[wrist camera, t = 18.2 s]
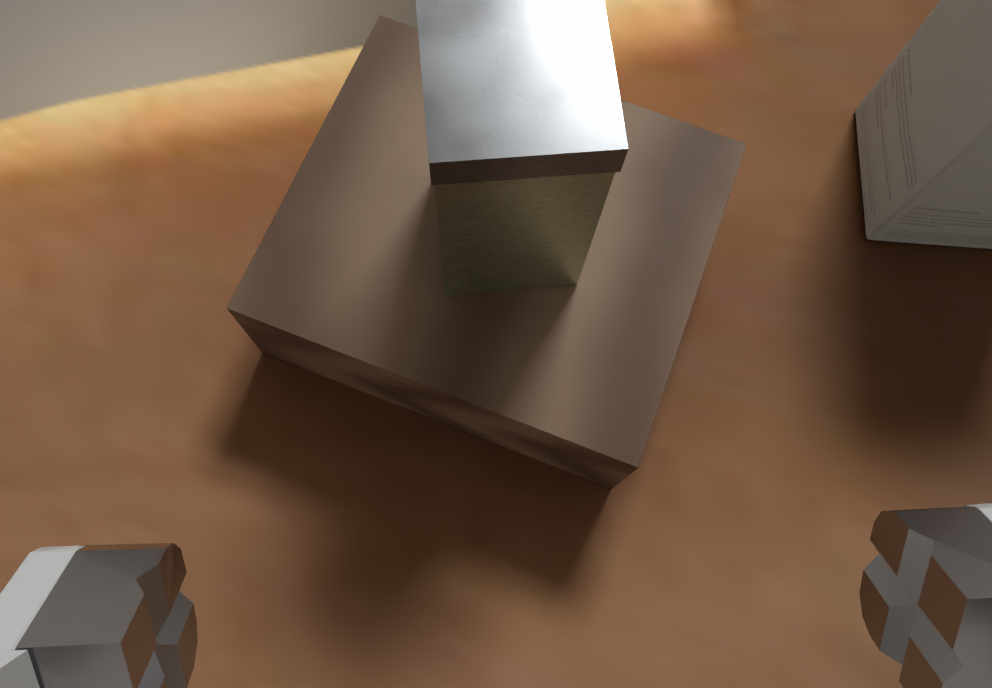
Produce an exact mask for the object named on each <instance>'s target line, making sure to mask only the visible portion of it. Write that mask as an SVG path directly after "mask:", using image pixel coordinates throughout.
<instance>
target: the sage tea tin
mask: <svg viewBox="0 0 992 688" xmlns="http://www.w3.org/2000/svg"><path fill="white" fill-rule="evenodd" d="M415 1H416V12H417V25H418V37H419V49H420V61H421V73H422V85H423V98H424V110H425V122H426V134H427V146H428V158H429V169H430V180H431V186H432V185H435V195H436V206H437V218H438V230H439V242H440V253H441V265H442V277H443V289H444V296H454V295H466V294H479V293H491V292H504V291H516V290H528V289H541V288H553V287H566V286H577V284H578V281H579V278H580V275H581V272H582V269H583V266H584V263H585V260H586V257H587V254H588V251H589V248H590V245H591V242H592V239H593V237H594V234H595V231H596V228H597V225H598V222H599V219H600V216H601V213H602V210H603V207H604V204H605V201H606V198H607V195H608V192H609V189H610V186H611V183H612V181H613V178H614V175H615V172H621V169H622V166H623V164H624V161H625V158H626V155H627V152H628V149H629V148H628V142H627V136H626V130H625V124H624V117H623V111H622V105H621V99H620V93H619V87H618V81H617V75H616V68H615V62H614V56H613V50H612V44H611V38H610V32H609V26H608V19H607V13H606V7H605V1H604V0H415Z"/></svg>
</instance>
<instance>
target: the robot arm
mask: <svg viewBox="0 0 992 688" xmlns="http://www.w3.org/2000/svg"><path fill="white" fill-rule="evenodd" d="M870 540H871V542H872V543H873V545H874V546H875V548H876V549H877V551H878V552H879V555H878V556H877V557H876V558H875V559H874V560H873V561H872V562H871V563H870V564H869V565H868V566H867V567H866V568H865V569H864V570H863V575H862V581H861V587H860V600H861V608H862V616H863V619H864V621H865V624H866V627H867V629H868V632H869V634H870V636H871V637H872V639H873V641H874V642H875V644H876V646H877V647H878V649H879V650H880V651H881V652H883V653H884V654H886V655H887V656H889V657H891V658H892V659H894V660H895V661H897V662H899V663H900V664H902V669H901V674H900V678H899V682H900V683H901V685H902V686H903V688H992V503H990V504H976V505H965V506H964V507H952V508H932V509H912V510H892V511H881V513H880V514H879V516H878V517H877V519H876V520H875V521H874V525H873V529H872V533H871V538H870ZM186 573H187V571H186V567H185V564H184V560H183V556H182V552H181V549H180V548H179V547H178V546H177V545H175V544H174V543H155V544H115V545H86V546H58V547H41V548H38V549H36V550H34V551H32V552H30V553H29V554H28V555H27V557H26V558H25V559H24V561H23V562H22V564H21V565H20V566H19V568H18V569H17V571H16V572H15V573H14V575H13V576H12V578H11V579H10V580H9V582H8V583H7V585H6V586H5V587H4V589H3V590H2V592H1V593H0V688H187V686H188V683H189V680H190V677H191V674H192V671H193V668H194V663H195V656H196V648H197V620H196V615H195V610H194V605H193V603H192V602H191V601H190V600H189V599H188V598H187V597H186V596H184V595H183V594H182V593H181V592H180V591H179V590H180V587H181V585H182V582H183V580H184V578H185V575H186Z"/></svg>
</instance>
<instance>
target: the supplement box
mask: <svg viewBox="0 0 992 688" xmlns="http://www.w3.org/2000/svg"><path fill="white" fill-rule="evenodd" d="M855 114H856V125H857V138H858V149H859V160H860V172H861V183H862V194H863V206H864V217H865V228H866V238H867V239H868V240H877V241H889V242H902V243H917V244H929V245H943V246H956V247H970V248H987V249H992V0H940V1H939V3H938V4H937V5H936V7H935V8H934V9H933V11H932V12H931V13H930V14H929V16H928V17H927V18H926V20H925V21H924V22H923V24H922V25H921V26H920V27H919V29H918V30H917V31H916V33H915V34H914V35H913V36H912V38H911V39H910V40H909V41H908V43H907V44H906V45H905V47H904V48H903V49H902V51H901V52H900V53H899V54H898V56H897V57H896V58H895V60H894V61H893V62H892V64H891V65H890V66H889V67H888V69H887V70H886V71H885V73H884V74H883V75H882V76H881V77H880V79H879V80H878V81H877V83H876V84H875V85H874V86H873V88H872V89H871V91H870V92H869V93H868V94H867V96H866V97H865V98H864V100H863V101H862V102H861V103H860V105H859V106H858V107H857V108H856V110H855Z"/></svg>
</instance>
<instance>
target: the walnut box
mask: <svg viewBox="0 0 992 688" xmlns="http://www.w3.org/2000/svg"><path fill="white" fill-rule="evenodd" d="M621 105H622V111H623V117H624V124H625V130H626V136H627V142H628V148H629V149H628V152H627V155H626V158H625V161H624V164H623V166H622V169H621V172H615V175H614V178H613V181H612V183H611V186H610V189H609V192H608V195H607V198H606V201H605V204H604V207H603V210H602V213H601V216H600V219H599V222H598V225H597V228H596V231H595V234H594V237H593V239H592V242H591V245H590V248H589V251H588V254H587V257H586V260H585V263H584V266H583V269H582V272H581V275H580V278H579V281H578V284H577V286H566V287H553V288H541V289H528V290H516V291H504V292H491V293H479V294H466V295H454V296H444V289H443V277H442V265H441V253H440V242H439V230H438V218H437V206H436V195H435V185H432V186H431V180H430V169H429V158H428V146H427V134H426V122H425V110H424V98H423V85H422V73H421V61H420V49H419V37H418V29H417V28H414V27H412V26H409V25H406V24H403V23H400V22H397V21H395V20H392V19H389V18H386V17H383V16H379V18H378V20H377V22H376V24H375V26H374V28H373V29H372V31H371V33H370V35H369V37H368V39H367V41H366V43H365V45H364V47H363V48H362V50H361V52H360V54H359V56H358V58H357V60H356V62H355V64H354V66H353V68H352V69H351V71H350V73H349V75H348V77H347V79H346V81H345V83H344V85H343V87H342V89H341V90H340V92H339V94H338V96H337V98H336V100H335V102H334V104H333V106H332V108H331V110H330V111H329V113H328V115H327V117H326V119H325V121H324V123H323V125H322V127H321V129H320V131H319V132H318V134H317V136H316V138H315V140H314V142H313V144H312V146H311V148H310V150H309V152H308V153H307V155H306V157H305V159H304V161H303V163H302V165H301V167H300V169H299V171H298V173H297V174H296V176H295V178H294V180H293V182H292V184H291V186H290V188H289V190H288V192H287V194H286V195H285V197H284V199H283V201H282V203H281V205H280V207H279V209H278V211H277V213H276V215H275V216H274V218H273V220H272V222H271V224H270V226H269V228H268V230H267V232H266V234H265V236H264V237H263V239H262V241H261V243H260V245H259V247H258V249H257V251H256V253H255V255H254V257H253V258H252V260H251V262H250V264H249V266H248V268H247V270H246V272H245V274H244V276H243V278H242V279H241V281H240V283H239V285H238V287H237V289H236V291H235V293H234V295H233V297H232V299H231V300H230V302H229V304H228V306H227V309H228V311H229V312H230V313H231V314H232V316H233V317H234V318H235V319H236V321H237V322H238V323H239V324H240V326H241V327H242V328H243V329H244V330H245V332H246V333H247V334H248V335H249V337H250V338H251V339H252V340H253V342H254V343H255V344H256V345H257V347H258V348H259V349H260V350H261V352H262V353H264V354H267V355H270V356H272V357H275V358H277V359H280V360H282V361H285V362H287V363H290V364H293V365H295V366H298V367H300V368H303V369H305V370H308V371H310V372H313V373H316V374H318V375H321V376H323V377H326V378H328V379H331V380H334V381H336V382H339V383H341V384H344V385H346V386H349V387H351V388H354V389H357V390H359V391H362V392H364V393H367V394H369V395H372V396H375V397H377V398H380V399H382V400H385V401H387V402H390V403H392V404H395V405H398V406H400V407H403V408H405V409H408V410H410V411H413V412H416V413H418V414H421V415H423V416H426V417H428V418H431V419H433V420H436V421H439V422H441V423H444V424H446V425H449V426H451V427H454V428H456V429H459V430H462V431H464V432H467V433H469V434H472V435H474V436H477V437H480V438H482V439H485V440H487V441H490V442H492V443H495V444H497V445H500V446H503V447H505V448H508V449H510V450H513V451H515V452H518V453H521V454H523V455H526V456H528V457H531V458H533V459H536V460H538V461H541V462H544V463H546V464H549V465H551V466H554V467H556V468H559V469H561V470H564V471H567V472H569V473H572V474H574V475H577V476H579V477H582V478H585V479H587V480H590V481H592V482H595V483H597V484H600V485H602V486H605V487H608V488H610V489H612V488H613V487H614V486H616V485H617V484H618V483H619V482H621V481H622V480H623V479H624V478H626V477H627V476H628V475H630V474H631V473H632V472H633V471H635V470H636V469H637V468H638V467H639V464H640V461H641V458H642V455H643V452H644V449H645V446H646V443H647V440H648V437H649V434H650V431H651V428H652V425H653V422H654V419H655V416H656V413H657V410H658V407H659V404H660V401H661V398H662V395H663V392H664V389H665V386H666V383H667V380H668V377H669V374H670V371H671V368H672V365H673V362H674V359H675V356H676V353H677V350H678V347H679V344H680V341H681V338H682V335H683V332H684V329H685V326H686V323H687V320H688V317H689V314H690V311H691V308H692V305H693V302H694V299H695V296H696V293H697V290H698V287H699V284H700V281H701V278H702V275H703V272H704V269H705V266H706V263H707V260H708V257H709V254H710V251H711V248H712V245H713V242H714V239H715V236H716V233H717V230H718V227H719V224H720V221H721V218H722V215H723V212H724V210H725V207H726V204H727V201H728V198H729V195H730V192H731V189H732V186H733V183H734V180H735V177H736V174H737V171H738V168H739V165H740V162H741V159H742V156H743V153H744V150H745V147H746V144H745V143H742V142H739V141H736V140H733V139H730V138H728V137H725V136H722V135H719V134H716V133H713V132H711V131H708V130H705V129H702V128H699V127H696V126H693V125H691V124H688V123H685V122H682V121H679V120H676V119H674V118H671V117H668V116H665V115H662V114H659V113H656V112H654V111H651V110H648V109H645V108H642V107H639V106H637V105H634V104H631V103H628V102H625V101H622V100H621Z"/></svg>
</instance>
